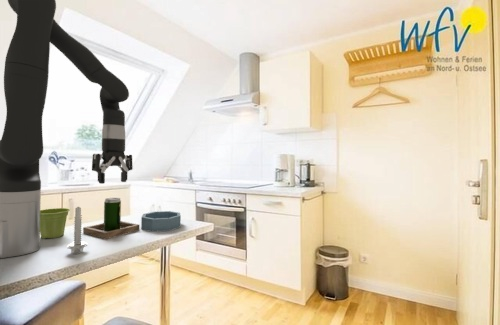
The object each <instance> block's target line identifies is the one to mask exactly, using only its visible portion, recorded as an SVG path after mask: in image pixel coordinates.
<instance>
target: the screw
mask: <svg viewBox="0 0 500 325" xmlns="http://www.w3.org/2000/svg"><path fill="white" fill-rule="evenodd" d="M74 209H75V210H74V211H75V214H74V217H73V218H74V219H73V220H74V223H73V224H74V225H73V228H74V231H73V233H74V234H73V242H71V243H69V244H68V245H67V246H66V248H67V249H70V251H71V252H70V253H71V254H73V255H76V254H77V255H78V254H81V253H84V248H86V247H88V243H87V242H86V241H82V233H83V231H82V230H83V228H82V220H83V219H82V216H83V215H82V208H81V207H80V206H76V207H75V208H74Z"/></svg>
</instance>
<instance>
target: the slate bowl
mask: <svg viewBox="0 0 500 325" xmlns="http://www.w3.org/2000/svg"><path fill="white" fill-rule="evenodd" d="M140 221H141V224H140V225H141V227H140V229H141V230H144V231H148V232H164V231H165V232H167V231H168V232H169V231H173V230H175V229H179V228H181V221H182V220H181V213H180V212H179V211H178V212H177V211H172V210H169V211H168V210H162V211H161V210H160V211H159V210H158V211H151V212H147V213H143V214H142V215H141V220H140Z"/></svg>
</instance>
